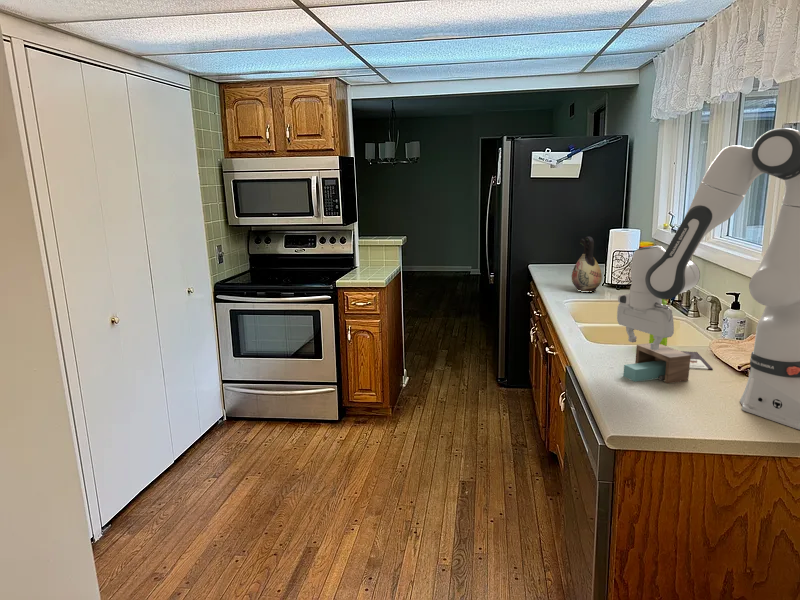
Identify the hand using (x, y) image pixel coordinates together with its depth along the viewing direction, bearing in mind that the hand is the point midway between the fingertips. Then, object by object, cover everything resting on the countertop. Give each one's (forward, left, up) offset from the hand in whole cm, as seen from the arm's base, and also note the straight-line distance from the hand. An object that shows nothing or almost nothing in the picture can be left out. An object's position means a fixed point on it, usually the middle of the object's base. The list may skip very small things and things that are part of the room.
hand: (643, 345), depth 172 cm
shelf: (+1, -8, -10) cm, 13 cm away
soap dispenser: (+26, -30, -11) cm, 41 cm away
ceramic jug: (+120, -67, -11) cm, 137 cm away
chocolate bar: (+9, -28, -11) cm, 31 cm away
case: (+1, -3, -11) cm, 11 cm away
